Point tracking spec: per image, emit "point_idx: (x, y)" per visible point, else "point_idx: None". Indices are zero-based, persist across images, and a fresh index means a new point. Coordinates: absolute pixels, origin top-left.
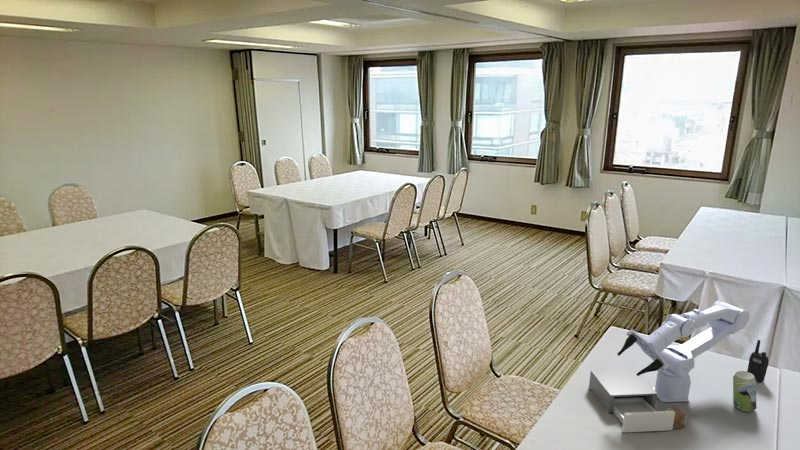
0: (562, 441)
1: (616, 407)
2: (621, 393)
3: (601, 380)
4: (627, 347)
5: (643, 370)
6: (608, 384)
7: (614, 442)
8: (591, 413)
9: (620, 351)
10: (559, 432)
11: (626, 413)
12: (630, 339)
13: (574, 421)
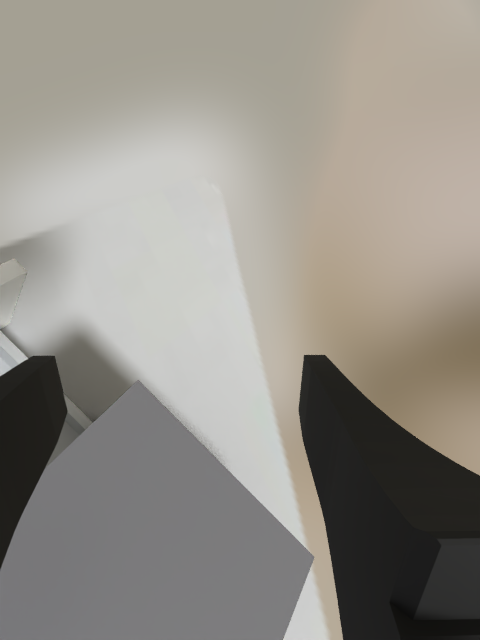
0: (159, 197)
1: (82, 425)
2: (96, 440)
3: (232, 495)
4: (338, 409)
5: (9, 376)
6: (189, 484)
7: (17, 246)
8: (155, 371)
9: (327, 360)
10: (183, 228)
11: (14, 270)
12: (454, 478)
13: (177, 294)
